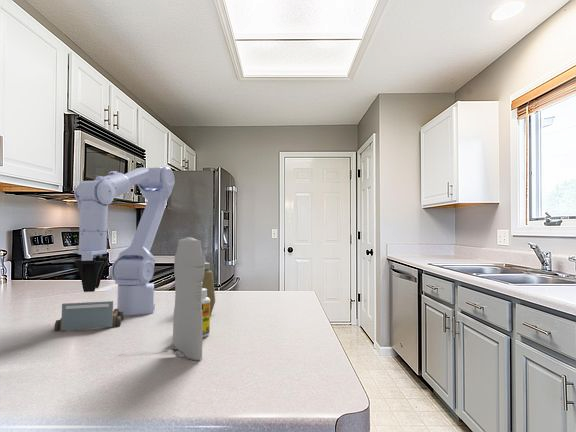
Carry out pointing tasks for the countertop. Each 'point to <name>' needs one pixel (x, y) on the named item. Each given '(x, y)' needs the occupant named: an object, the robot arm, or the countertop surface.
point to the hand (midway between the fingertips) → (91, 289)
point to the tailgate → (87, 315)
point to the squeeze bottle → (209, 283)
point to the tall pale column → (188, 299)
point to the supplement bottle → (205, 313)
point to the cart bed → (116, 323)
